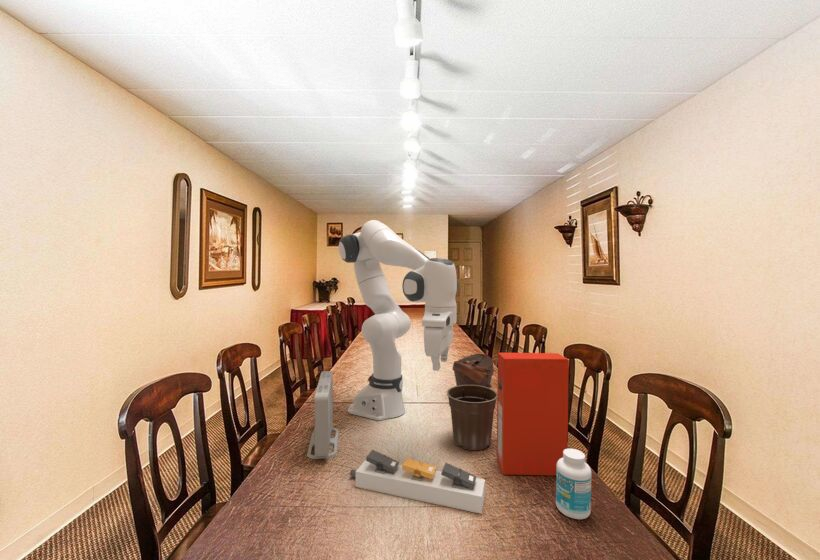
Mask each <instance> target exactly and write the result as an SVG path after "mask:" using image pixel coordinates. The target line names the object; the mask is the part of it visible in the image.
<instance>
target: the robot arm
mask: <svg viewBox="0 0 820 560" xmlns="http://www.w3.org/2000/svg"><path fill="white" fill-rule="evenodd" d="M338 253H339V255H340V258H341V259H342V260H343V261H344V262H345V263H350V264H351V263H353V267H354V268H353V270H354V274H355V279H356V282H357V285H358V289H359V291H360V292H359V293H360V294H361V297H362V299H363V303H364V304H365V305H366V306H367V307H368V308H370V309H371V311H372V312H373V313H374V315H371V316H370V317H369V318H367V319H365V320H364V321H363V323H362V326H361V334H362V337H363V339H364V340H365V341H366V342H367V343H368V345H369V347H370V351H371V354H372V365H373V366H372V368H373V369H372V371H373V373H371V375H370V376H368V378H367V383H368V384H367V385H366V386H364V387H363V388H362V389H360V390H359V391H358V392H357V393H356V395H355V396H354V402H352V403H351V404H350V405H349V407H348V409H347V413H348V414H350V415H353V416H354V415H355V416H358V417H363V418H367V419H371V420H375V421H377V422H378V421H383V420H386V419H392V418H393V419H394V418H397V417H401V416H402V415H404V414H405V412H406V408H405V403H404V398H403V387H404V385H403V384H404V380H403V374H402V355H401V353H400V352H399V351H398V349H397V346H396V339H399V338H401V337H404V336H405V334H407V332H408V331H409V330H410V329H411V326H412V325H411V322H412V321H411V318H410V316H409V315H408V314H407V313H406V312H404V311H403V310H402V309H401V307H400V306H399V304H398V303H397V301H396V300H395V298H394V296H393V295H392V293H391V290H390V287H389V285H388V283H387V279H386V277H385V274H384V272H383V269H382V267H381V264H383V265H386V266H394V267H401V268H406V269H410V270H411V271H409V272H407V273H406V274H405V276H404V277H403V280H402V292H403V295H404V297H405V298H406V299H407V300H408V301H409V302H413V303H424V315H423V316H422V319H421V327H424V328H423V343H424V344H423V345H424V346H423V347H424V348H423V349H424V353H425V355H426V357H430V359H431V364H432V370H433V371H434V372H435V371H437V372H438V371H440V370H441V362H442V363H446V362H447V361H448V360H449V359H448V358H449V357H448V354H449V350H450V346H451V344H453V342H454V325H455V324H457V322H458V321H457V312H458V311H457V310H458V305H457V301H456V296H457V294H458V292H459V289H460V284H459V280H458V279H459V278H458V277H457V269H456V265H455V262H454V261H452V260H450V259H446V258H439V257H437V258H436V257H433V258H430V257H428V256H427V255H426V254H424V253H423V252H422V251H420V250H419V249H417V248H416V247H414V246H412V245H411V244H409V243H408V242H407V241H405V239H403V238H401V237H400V236H399V235H398V234H397V233H395V231H393V229H392V228H390V227H389V226H388V225H386V224H385V223H383V222H381V221H379V220H377V219H371V220H368V221H366V222H364V224H363V225H362V226H361V229H360V231H359V232H355V233H352V234H345V235H344V236H342V237H341V238H340V240H339V241H338Z"/></svg>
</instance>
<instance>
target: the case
mask: <svg viewBox="0 0 820 560" xmlns="http://www.w3.org/2000/svg"><path fill="white" fill-rule="evenodd" d="M452 364H453V365H452V371H453V372H454V373H453V374H454V378H455V383H456V384H455V386H459V385H479V386H484V387H488V388H490V389H492V386H493V385H491V383H492V379H493V376H494V360H493V359H492V358H491V357H490V356H489V355H487V354H485V353H474V354H470V355H468V356H464V357H463V358H461V359H459V360H455V361H454V362H453V363H452Z"/></svg>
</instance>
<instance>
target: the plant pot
mask: <svg viewBox="0 0 820 560" xmlns="http://www.w3.org/2000/svg"><path fill="white" fill-rule="evenodd" d="M446 395H447V397H448V405H449V407H450V417H451V426H452V437H453V442H454V443H455V445H457V447H462V448H463V449H464V450H468V451H469V450H470V451H483V450H484V449H487V447H490V446H491V444H492V436H493V435H492V433H493V423H494V415H495V413H494V412H495V408H496V405H497V403H496V402H497V392H496V391H495V390H494V389H492V388H488V387H484V386H479V385H459V386H457V385H455V386H453V387H449V388H448V389H447V391H446Z"/></svg>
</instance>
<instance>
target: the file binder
mask: <svg viewBox="0 0 820 560" xmlns="http://www.w3.org/2000/svg"><path fill="white" fill-rule="evenodd" d="M569 365H570V359H569V358H567V357H566V356H563V355H562V354H561V353H559V352H557V353H556V352H497V389H496V390H497V399H496V402H497V403H496V405H497V406H496V409H497V410H496V412H497V413H496V417H497V418H496V421H497V422H496V461H497V464H498V466H499V469H500V471H501V474H502V475H507V476H508V475H511V476H512V475H513V476H514V475H515V476H517V475H518V476H556V466H557V462H558V460H559V459H561V458H563V451H564V450H565V449H568V442H569V441H568V435H569V430H568V429H569V373H570V372H569V369H570V368H569V367H570V366H569Z"/></svg>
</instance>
